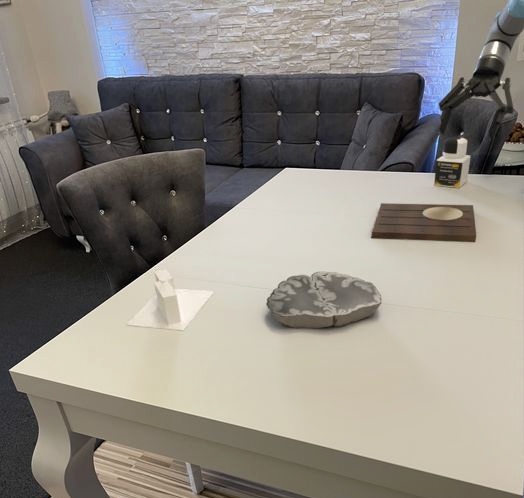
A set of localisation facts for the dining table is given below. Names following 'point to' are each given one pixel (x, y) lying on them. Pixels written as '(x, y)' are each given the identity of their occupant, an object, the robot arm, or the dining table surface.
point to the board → (425, 222)
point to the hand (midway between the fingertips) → (465, 132)
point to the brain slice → (323, 300)
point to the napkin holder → (170, 305)
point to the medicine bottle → (453, 164)
